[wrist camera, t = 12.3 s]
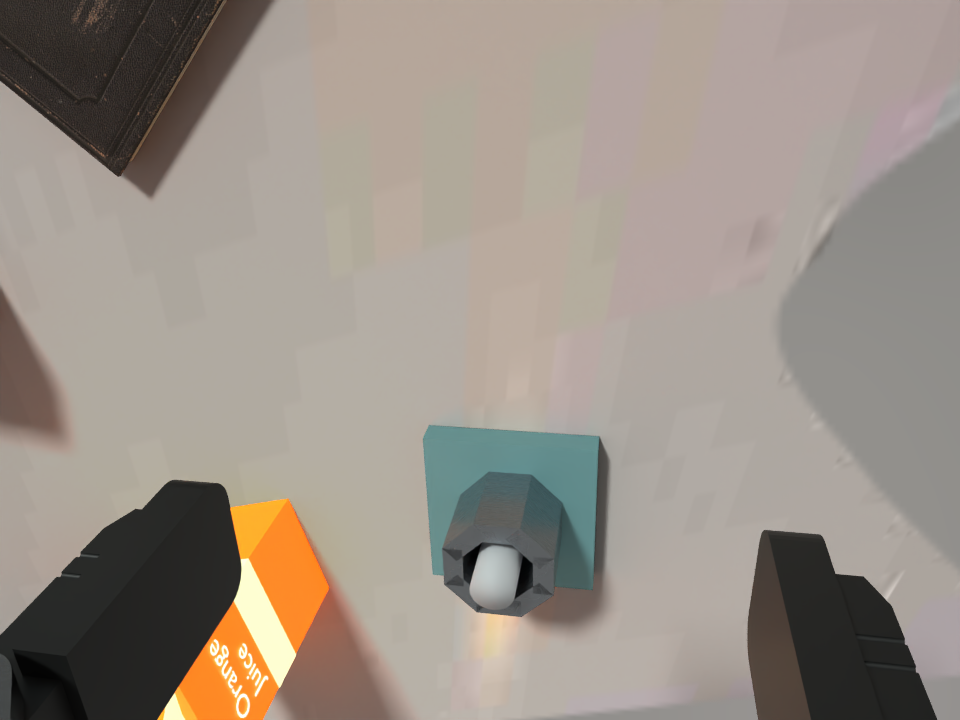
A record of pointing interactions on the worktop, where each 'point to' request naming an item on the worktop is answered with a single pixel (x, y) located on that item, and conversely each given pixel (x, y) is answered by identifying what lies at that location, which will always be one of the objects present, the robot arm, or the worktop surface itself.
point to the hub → (506, 537)
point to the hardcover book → (101, 64)
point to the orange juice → (255, 620)
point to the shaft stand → (546, 456)
